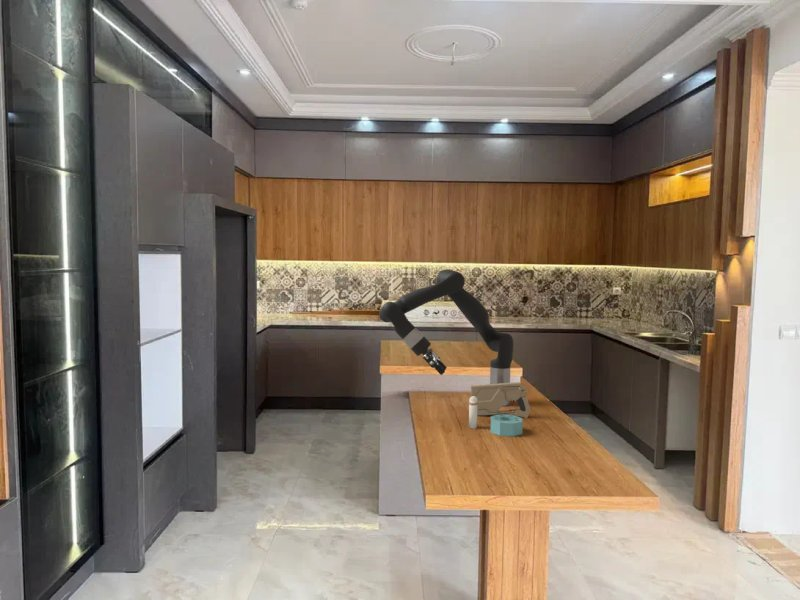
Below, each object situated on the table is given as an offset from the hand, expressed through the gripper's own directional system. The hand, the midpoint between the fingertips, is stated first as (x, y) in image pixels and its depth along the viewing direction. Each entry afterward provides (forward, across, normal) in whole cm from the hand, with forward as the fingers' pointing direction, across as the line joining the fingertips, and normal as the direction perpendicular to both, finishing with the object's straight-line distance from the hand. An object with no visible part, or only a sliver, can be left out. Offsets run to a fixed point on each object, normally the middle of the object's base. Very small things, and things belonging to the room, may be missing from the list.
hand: (444, 371), depth 229 cm
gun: (+32, +18, -1) cm, 36 cm away
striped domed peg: (+24, -1, +7) cm, 25 cm away
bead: (+33, -4, -3) cm, 33 cm away
